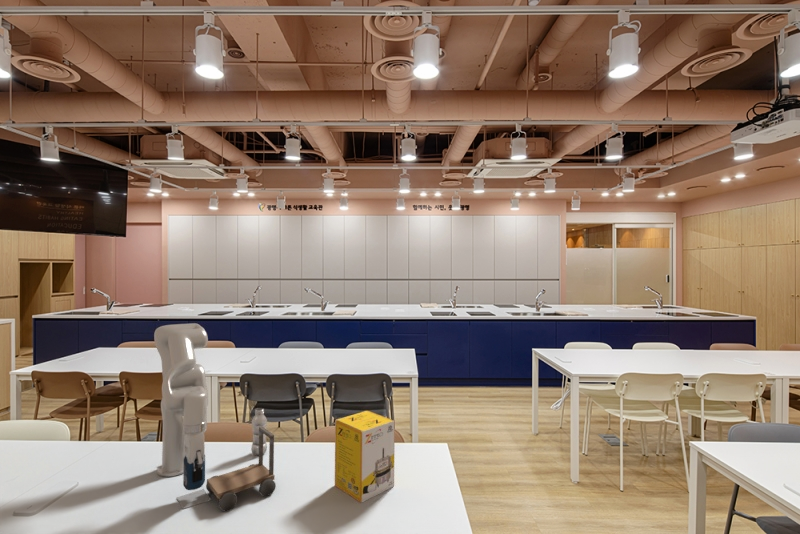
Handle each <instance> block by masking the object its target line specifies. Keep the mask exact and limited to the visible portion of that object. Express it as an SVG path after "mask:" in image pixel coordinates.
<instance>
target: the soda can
mask: <svg viewBox="0 0 800 534" xmlns="http://www.w3.org/2000/svg"><path fill="white" fill-rule="evenodd" d="M201 457H202V456H201ZM202 458H203V457H202ZM195 461H197V459H195ZM195 461H194V462H195ZM196 465H197V463H195V467H196ZM192 471H193V463H192V464H189V463H188V462H187V457H186V456H185V458H184V473H183V477H182V479H183V482H182V483H183V484H182V485H183V488H184V489H186V490H187V491H195V490H198V489H200V488H202V487H203V485H204V484H205V482H206V453H205V454H204V460H203V464H202V480H201V481H198V482H195V483H193V482H192Z"/></svg>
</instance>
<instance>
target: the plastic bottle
mask: <svg viewBox="0 0 800 534" xmlns="http://www.w3.org/2000/svg"><path fill="white" fill-rule="evenodd" d="M254 410H255V411H254V414H255V415H254V416H253V418H252V420H251V428H252V442H251V443H252V444H251V450H250V451H251V453H252V455H253V456H259V427H264V428H265V429H266V430H267V424H268V419H267V417H266V415H265V414H264V413H265V408H262V407H257V408H255V409H254ZM266 437H267V436H266V435H265V434H263V455H264V454H266V452H267V450H268V449H267V448H268V446H267V439H266Z"/></svg>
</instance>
